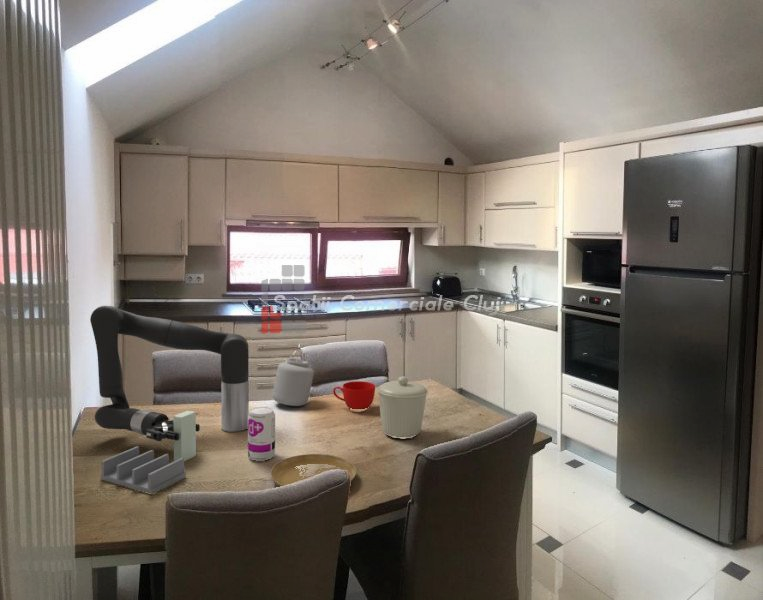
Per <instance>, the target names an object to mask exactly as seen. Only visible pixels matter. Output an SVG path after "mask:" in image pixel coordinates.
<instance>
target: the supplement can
mask: <svg viewBox="0 0 763 600" xmlns="http://www.w3.org/2000/svg"><path fill="white" fill-rule="evenodd" d="M275 455H276V413H275V412H274V409H273V408H271V407H267V406H260V407H259V406H258V407H253V408H252V409H249V415H248V430H247V457H248V458H249V459H250V460H251V459H252V460H251V461H253V460H256V461H255V462H257V461H263V462H265V461H264V460H268V459H270V460H271V458H272V457H273V458H274V457H275ZM273 458H272V459H273ZM268 461H269V460H268Z"/></svg>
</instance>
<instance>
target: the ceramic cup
mask: <svg viewBox="0 0 763 600" xmlns="http://www.w3.org/2000/svg"><path fill="white" fill-rule="evenodd" d="M336 390H340V391H341V392H342V396H343V397H340V396H339V395H337V393H336ZM332 392H333V395H334V396H335V398H337V399H338V400H341V401H342V402H345V403H344V404H345V405H346V406H347V408H348V407H349V408H352V409H365V408H368V407H369V408H370V407H371V406H372V404H373V402H374V398H375V392H376V385H375V384H374V383H372V382H368V381H363V380H362V381H361V380H359V381H358V380H355V381H348V382H345V383H343V384H342V387H341V386H335V387H334V388H333V391H332ZM349 408H348V409H349ZM369 408H368V409H369Z"/></svg>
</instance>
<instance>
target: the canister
mask: <svg viewBox="0 0 763 600" xmlns="http://www.w3.org/2000/svg"><path fill="white" fill-rule="evenodd" d="M376 391H377V392H378V396H379V397H378V399H379V411H380V412H379V413H380V414H379V415H380V423H381V429H382V431H384V432H385V433H386V434H388V435H391V436H396V437H411V436H414V435H417V434H418V433H419V432H421V430H422V424H423V421H424V414H425V407H426V402H427V401H426V399H427V395H428V394H429V389H428V387H426V386H424V385H423V384H421V383H418V382H416V381H415V382H414V381H411V380H410V381H409V378H408V377H407V376H403V375H402V376H399V377H398V379H397V380H390V381H387V382H384V383H382V384H380V385H379V386H377V388H376ZM384 432H383V433H384ZM385 433H384V434H385ZM386 434H385V435H386ZM419 434H420V433H419ZM419 434H418V435H419ZM418 435H417V436H418Z"/></svg>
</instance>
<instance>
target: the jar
mask: <svg viewBox="0 0 763 600" xmlns="http://www.w3.org/2000/svg"><path fill="white" fill-rule="evenodd" d="M298 348H300V343H299V344H298ZM296 352H297V351H296V350H295V351H294V352H293V354H292V355H293V356H294V355H295V353H296ZM301 352H303V351H302V349H301ZM284 360H286V361H283V362H281V363H279V364H278V366H277V368H276V369H277V370H276V374H275V379H274V385H273V389H272V394H271V395H272V396H271V398H272V399H273V400H274V401H275V402H277V403H279V404H282V405H285V406H291V407H303V406H305V405H307V404H308V401H309V399H310V396H311V395H310V394H311V388H312V385H313V379H314V375H315V374H314V373H315V372H314V371H315V370H314V369H313V368H312V367H310V366H309V364H310V362H308V361H306V360H303V359H299V358H298V359H296V358H291V357H288V358H286V359H285V358H284ZM314 392H316V391H315V390H314ZM312 394H313V392H312ZM311 397H312V396H311ZM302 405H303V406H302Z"/></svg>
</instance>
